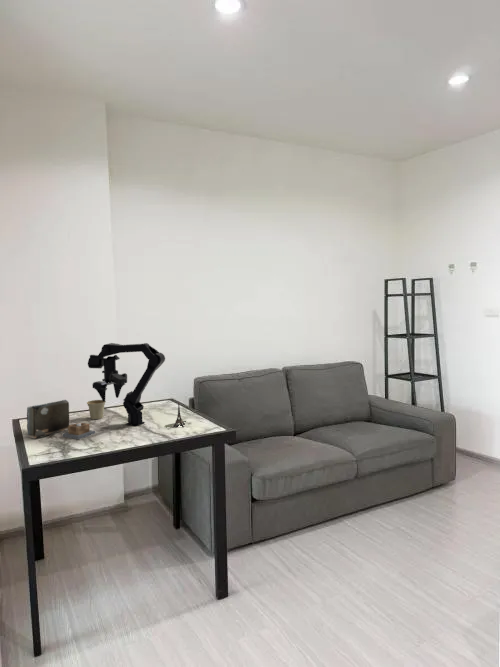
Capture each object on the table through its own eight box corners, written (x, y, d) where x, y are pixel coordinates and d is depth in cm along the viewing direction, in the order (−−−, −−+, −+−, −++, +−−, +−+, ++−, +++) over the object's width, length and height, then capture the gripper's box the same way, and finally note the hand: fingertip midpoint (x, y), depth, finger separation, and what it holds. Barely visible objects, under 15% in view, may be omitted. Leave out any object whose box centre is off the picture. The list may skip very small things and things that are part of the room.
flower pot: (102, 420, 244) (102, 403, 244) (84, 420, 245) (84, 403, 244) (108, 415, 254) (108, 399, 253) (91, 415, 254) (90, 399, 253)
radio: (66, 425, 236) (64, 395, 235) (77, 427, 232) (76, 397, 231) (22, 437, 217) (21, 405, 215) (34, 440, 212) (32, 407, 211)
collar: (79, 429, 224) (79, 422, 223) (89, 431, 221) (89, 424, 220) (68, 433, 218) (67, 425, 218) (78, 435, 215) (78, 427, 215)
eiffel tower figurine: (186, 421, 243) (185, 395, 242) (197, 425, 235) (197, 399, 234) (160, 427, 233) (159, 400, 232) (171, 431, 226) (170, 404, 224)
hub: (95, 433, 221) (94, 422, 221) (78, 439, 213) (78, 428, 212) (79, 430, 226) (79, 420, 226) (62, 436, 217) (62, 425, 217)
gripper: (108, 372, 225) (109, 405, 226) (135, 367, 242) (135, 397, 243) (91, 371, 230) (92, 402, 231) (118, 365, 247) (119, 395, 248)
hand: (110, 399), depth 238 cm, fingers open, 9 cm apart
